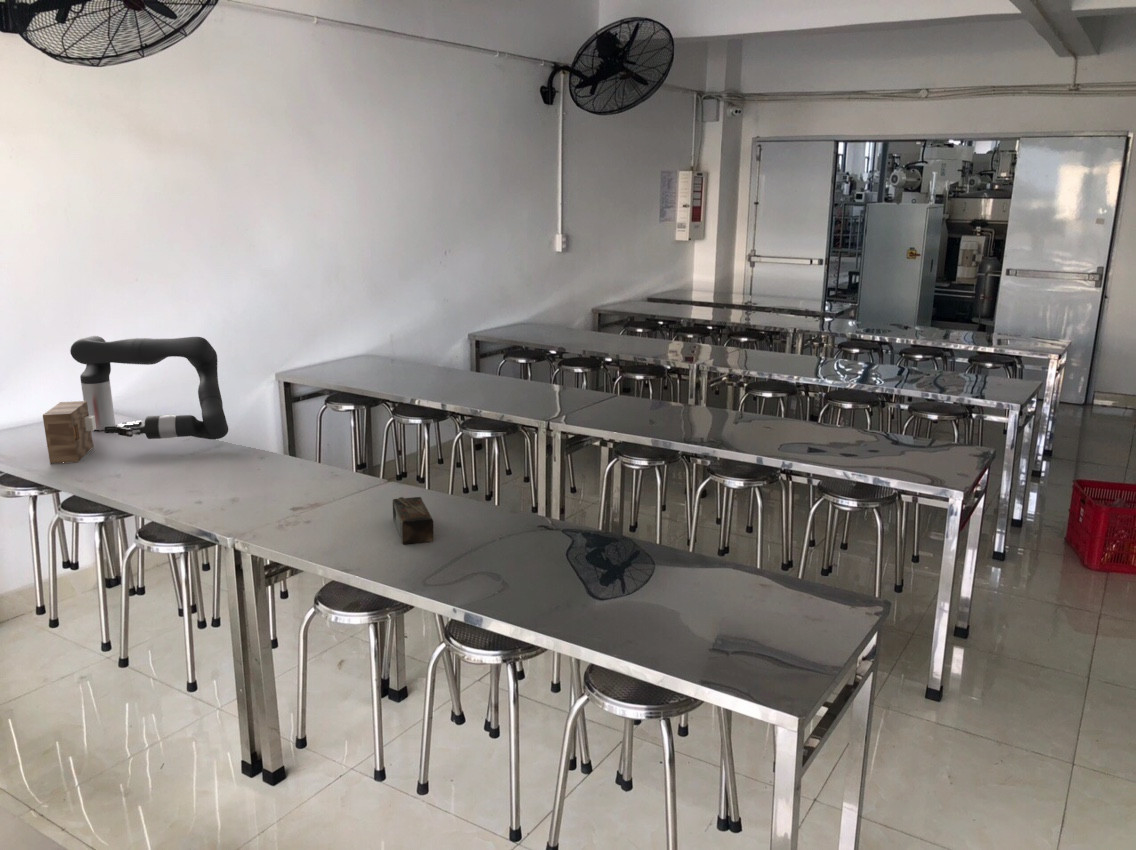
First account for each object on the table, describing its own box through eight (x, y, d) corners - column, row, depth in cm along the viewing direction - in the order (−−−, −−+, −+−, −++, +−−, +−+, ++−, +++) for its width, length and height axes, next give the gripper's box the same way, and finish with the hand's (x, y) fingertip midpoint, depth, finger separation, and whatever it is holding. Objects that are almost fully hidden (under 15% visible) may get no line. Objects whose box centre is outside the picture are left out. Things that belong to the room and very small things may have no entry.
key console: (67, 448, 300) (60, 402, 296) (93, 447, 302) (86, 400, 298) (50, 464, 283) (42, 414, 279) (77, 462, 285) (70, 413, 281)
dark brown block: (422, 516, 238) (421, 493, 237) (435, 543, 221) (434, 517, 219) (392, 520, 236) (391, 496, 234) (402, 546, 218) (401, 521, 216)
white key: (79, 429, 298) (77, 416, 297) (96, 428, 299) (94, 415, 298) (76, 431, 295) (74, 418, 294) (93, 430, 296) (91, 418, 295)
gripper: (159, 443, 288) (100, 446, 285) (168, 432, 301) (112, 435, 297) (156, 420, 286) (97, 423, 283) (165, 411, 299) (109, 413, 295)
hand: (105, 429), depth 290 cm, fingers closed
